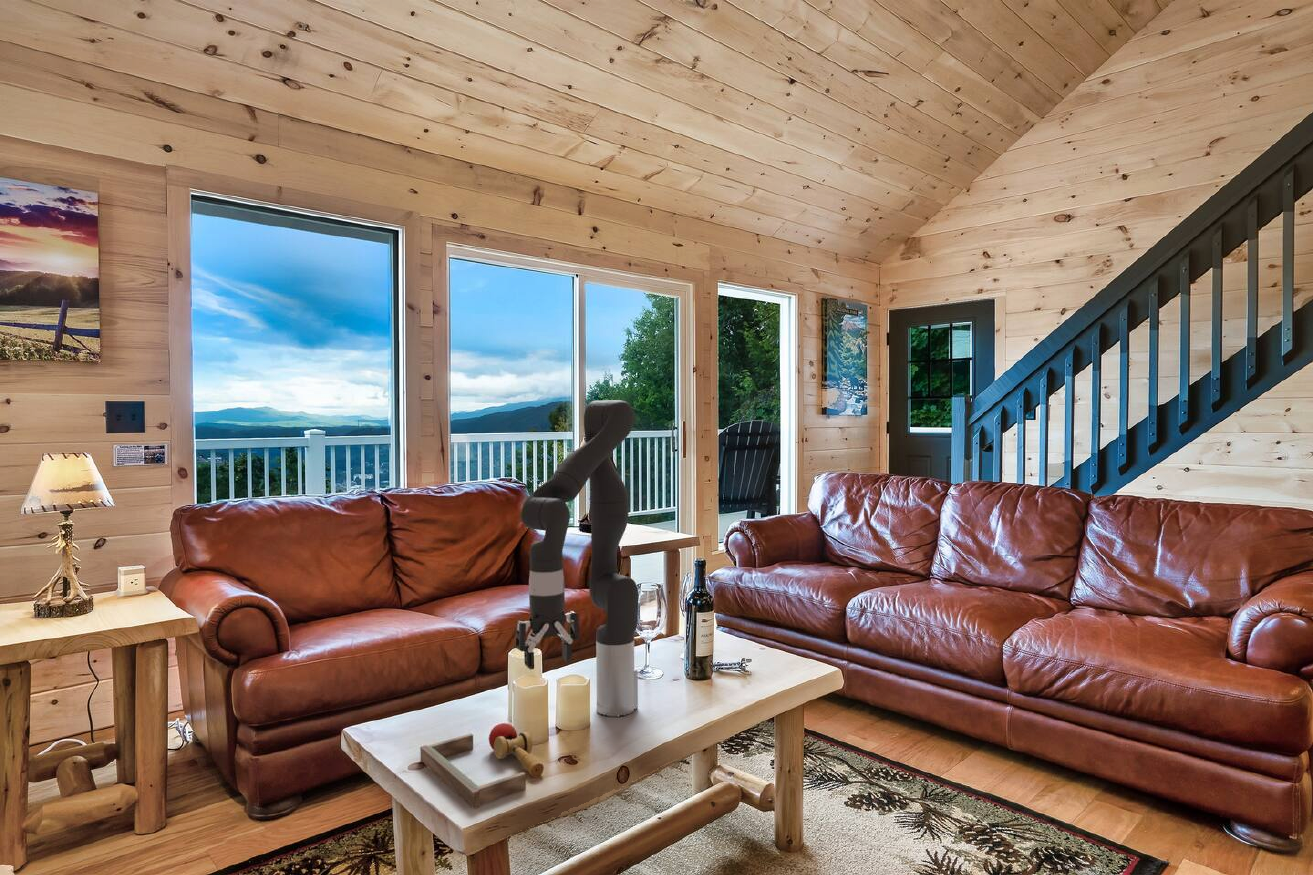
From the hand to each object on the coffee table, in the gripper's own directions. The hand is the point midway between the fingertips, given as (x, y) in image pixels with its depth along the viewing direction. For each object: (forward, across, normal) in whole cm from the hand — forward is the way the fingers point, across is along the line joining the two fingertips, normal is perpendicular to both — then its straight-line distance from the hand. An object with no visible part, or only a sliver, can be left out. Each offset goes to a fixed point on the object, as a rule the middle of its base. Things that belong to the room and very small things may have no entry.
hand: (548, 664), depth 170 cm
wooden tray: (+18, +18, +2) cm, 26 cm away
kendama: (+19, +8, +2) cm, 21 cm away
